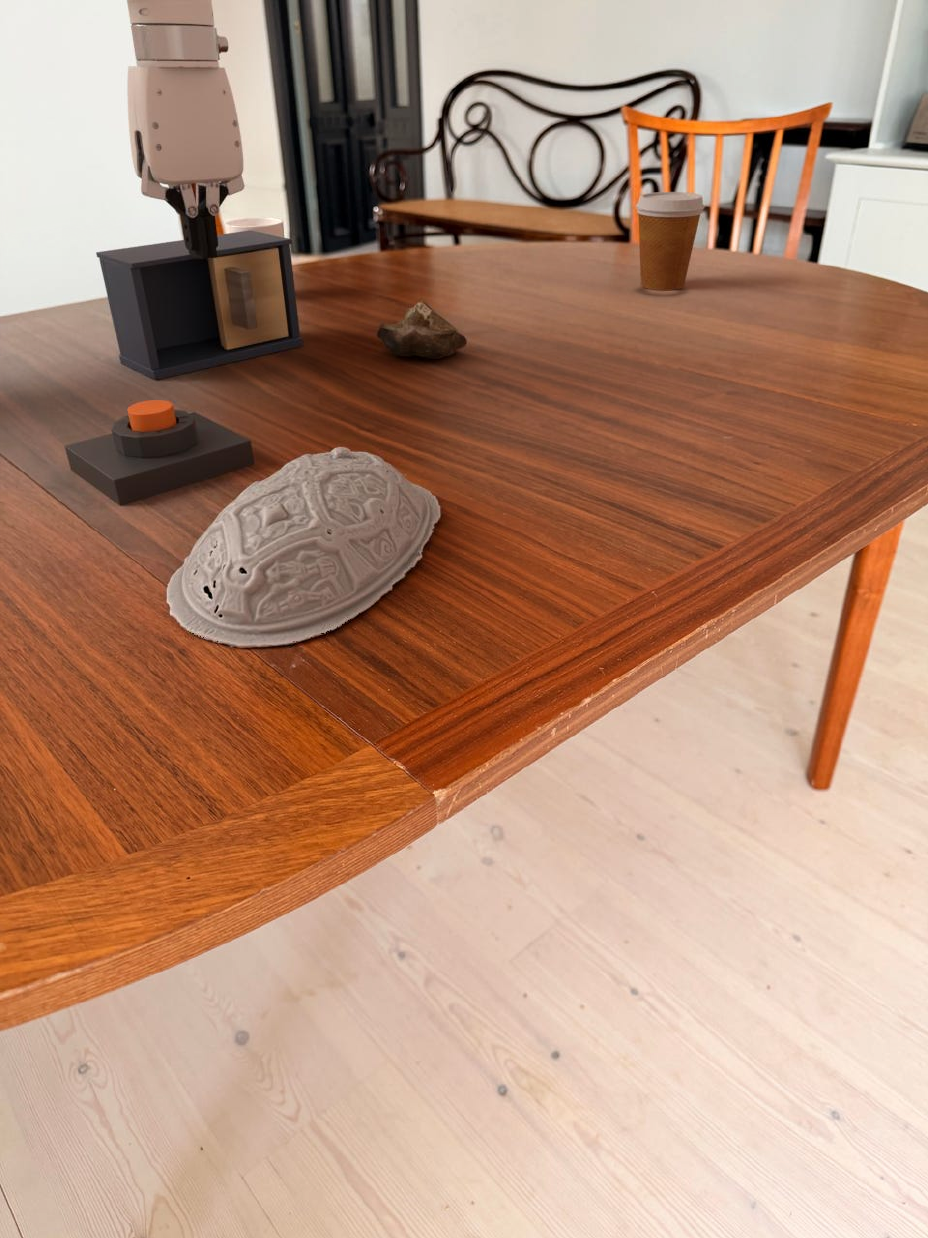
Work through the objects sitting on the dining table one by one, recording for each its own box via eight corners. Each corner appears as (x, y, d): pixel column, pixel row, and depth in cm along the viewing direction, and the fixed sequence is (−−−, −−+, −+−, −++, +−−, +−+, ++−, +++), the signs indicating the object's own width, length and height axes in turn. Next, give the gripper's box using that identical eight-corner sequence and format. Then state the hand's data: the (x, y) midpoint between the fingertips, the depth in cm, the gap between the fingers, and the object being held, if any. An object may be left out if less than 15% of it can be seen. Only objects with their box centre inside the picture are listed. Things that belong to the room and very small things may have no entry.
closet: (155, 380, 98) (131, 263, 91) (120, 363, 103) (95, 252, 97) (303, 345, 108) (291, 238, 102) (264, 332, 114) (250, 229, 108)
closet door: (243, 356, 100) (229, 262, 95) (223, 348, 103) (209, 256, 98) (305, 342, 105) (295, 251, 100) (285, 335, 108) (274, 246, 102)
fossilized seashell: (360, 338, 101) (436, 365, 98) (381, 281, 100) (459, 306, 97) (389, 357, 108) (461, 382, 105) (409, 304, 107) (482, 328, 104)
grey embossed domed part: (106, 611, 56) (93, 512, 52) (306, 477, 76) (307, 399, 72) (331, 682, 52) (334, 580, 48) (478, 521, 72) (487, 441, 69)
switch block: (120, 506, 70) (108, 458, 68) (70, 470, 77) (58, 425, 75) (254, 464, 77) (248, 419, 75) (198, 434, 83) (191, 392, 81)
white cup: (250, 305, 126) (240, 228, 121) (227, 295, 132) (216, 221, 126) (301, 296, 130) (292, 222, 125) (276, 287, 136) (267, 215, 130)
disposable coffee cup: (626, 278, 137) (632, 191, 130) (689, 278, 136) (699, 190, 130) (633, 293, 129) (640, 201, 122) (700, 292, 128) (711, 200, 122)
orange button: (143, 438, 73) (138, 417, 72) (124, 427, 75) (120, 406, 74) (184, 427, 75) (180, 406, 74) (164, 416, 77) (160, 396, 76)
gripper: (228, 50, 91) (248, 244, 101) (81, 47, 83) (119, 259, 93) (266, 50, 87) (284, 254, 96) (115, 47, 78) (151, 270, 88)
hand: (203, 256), depth 94 cm, fingers closed
